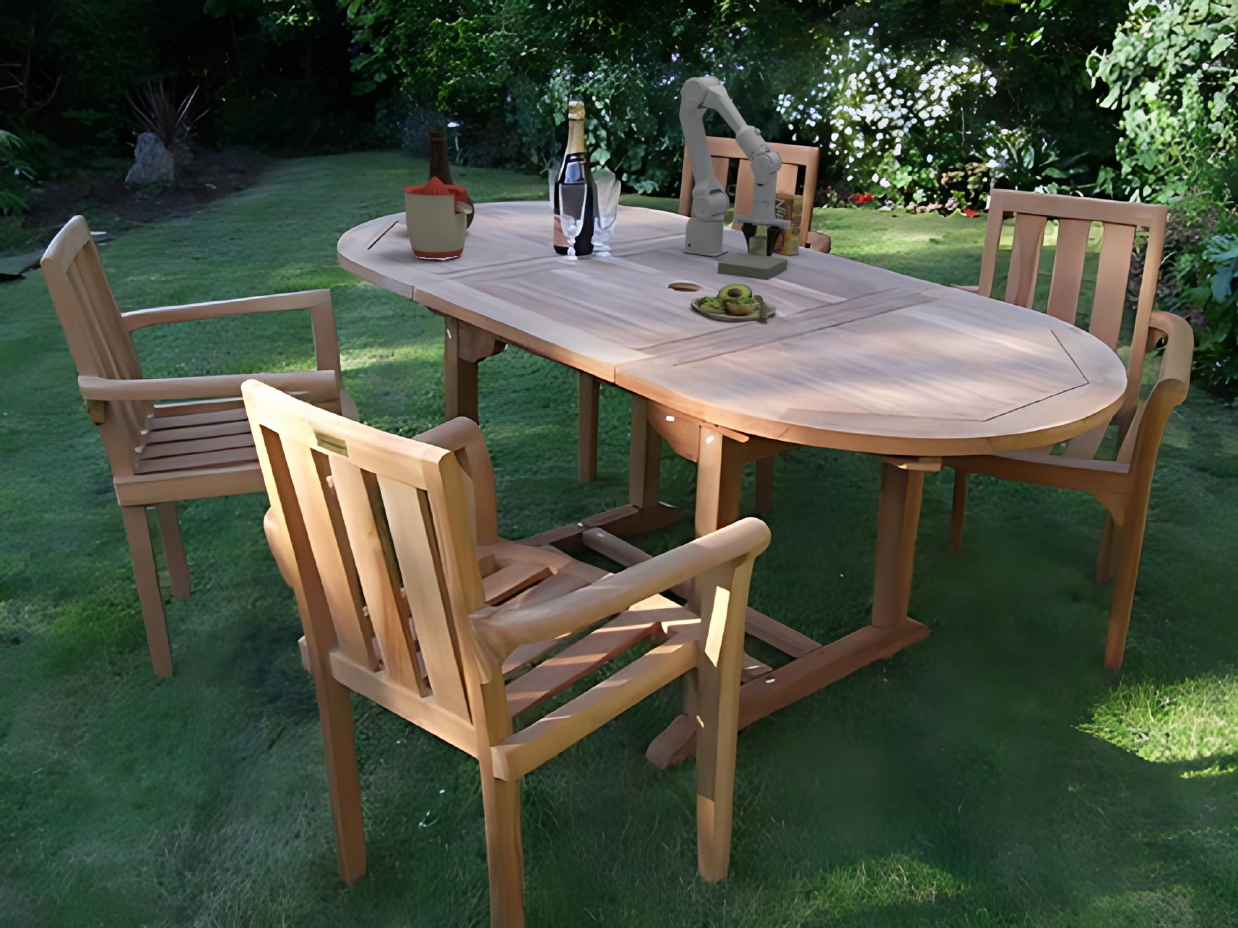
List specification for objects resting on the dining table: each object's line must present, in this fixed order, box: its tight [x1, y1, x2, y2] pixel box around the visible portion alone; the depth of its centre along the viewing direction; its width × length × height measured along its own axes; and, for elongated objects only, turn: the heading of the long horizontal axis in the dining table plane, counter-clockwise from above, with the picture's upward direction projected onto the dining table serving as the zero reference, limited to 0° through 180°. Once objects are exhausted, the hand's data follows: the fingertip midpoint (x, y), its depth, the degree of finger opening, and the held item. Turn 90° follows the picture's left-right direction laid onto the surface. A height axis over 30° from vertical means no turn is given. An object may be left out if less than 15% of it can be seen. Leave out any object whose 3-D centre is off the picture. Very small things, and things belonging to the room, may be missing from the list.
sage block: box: [749, 234, 773, 257], centre depth 285 cm, size 4×4×6 cm
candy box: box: [765, 191, 805, 256], centre depth 293 cm, size 9×4×15 cm, turn 39°
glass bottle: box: [425, 129, 475, 230], centre depth 304 cm, size 18×18×28 cm
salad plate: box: [690, 283, 777, 323], centre depth 238 cm, size 19×18×5 cm
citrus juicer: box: [402, 177, 472, 258], centre depth 279 cm, size 16×17×20 cm
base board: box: [717, 252, 788, 280], centre depth 275 cm, size 13×13×2 cm
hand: (760, 254), depth 286 cm, fingers closed on sage block, 4 cm apart
